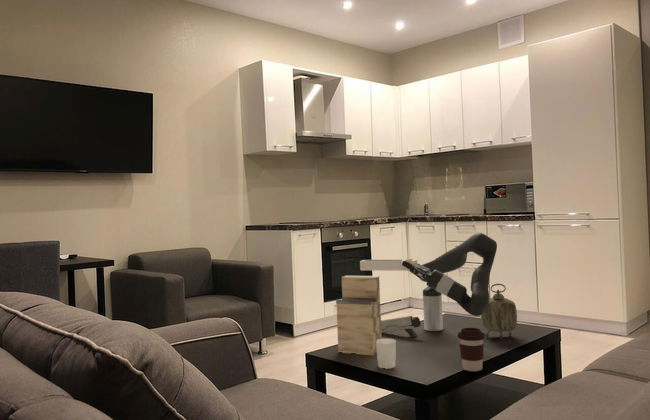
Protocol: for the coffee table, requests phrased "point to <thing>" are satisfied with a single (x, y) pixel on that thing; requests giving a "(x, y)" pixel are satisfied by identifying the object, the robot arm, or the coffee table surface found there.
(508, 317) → the tabletop clock
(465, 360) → the coffee cup
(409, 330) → the gun
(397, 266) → the power strip
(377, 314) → the step shelf
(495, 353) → the coffee table surface
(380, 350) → the white cup
